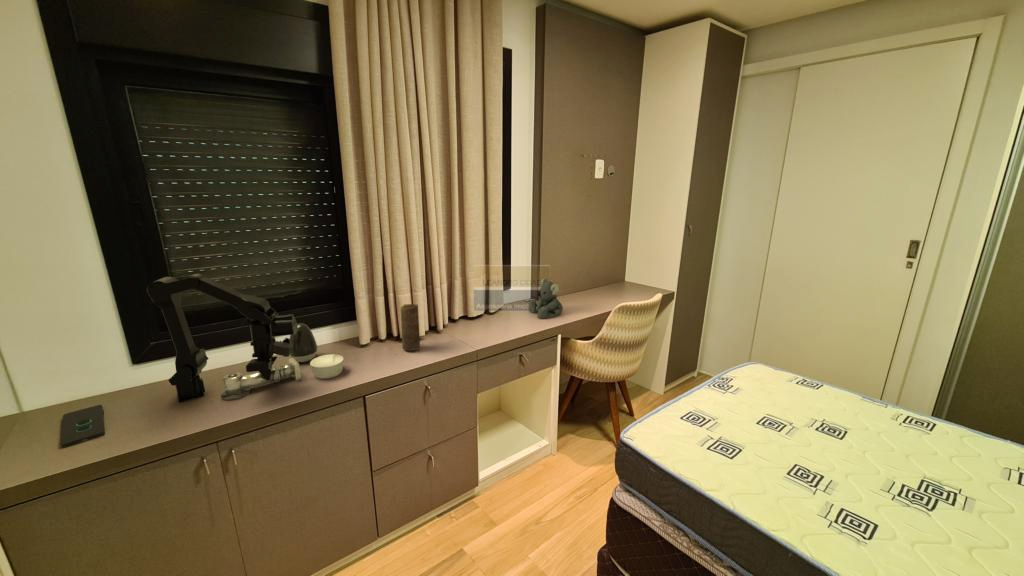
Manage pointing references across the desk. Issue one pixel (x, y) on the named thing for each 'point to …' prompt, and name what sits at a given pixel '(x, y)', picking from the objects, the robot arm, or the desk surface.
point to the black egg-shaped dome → (303, 344)
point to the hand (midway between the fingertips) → (268, 380)
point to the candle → (410, 327)
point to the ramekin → (327, 366)
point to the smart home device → (82, 425)
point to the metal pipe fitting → (283, 372)
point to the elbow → (246, 381)
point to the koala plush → (546, 301)
